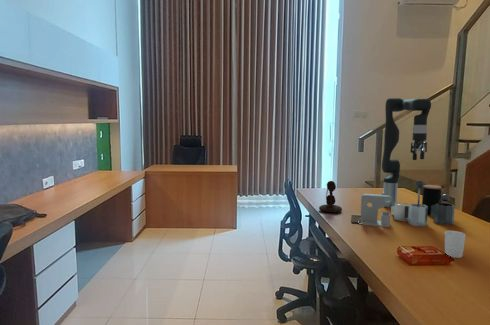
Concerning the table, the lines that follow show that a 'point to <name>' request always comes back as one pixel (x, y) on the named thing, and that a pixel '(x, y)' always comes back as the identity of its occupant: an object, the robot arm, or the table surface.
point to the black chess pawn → (330, 200)
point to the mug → (399, 211)
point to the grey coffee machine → (374, 210)
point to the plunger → (419, 185)
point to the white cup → (454, 243)
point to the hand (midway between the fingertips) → (418, 159)
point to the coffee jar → (431, 196)
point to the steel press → (416, 214)
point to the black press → (443, 211)
